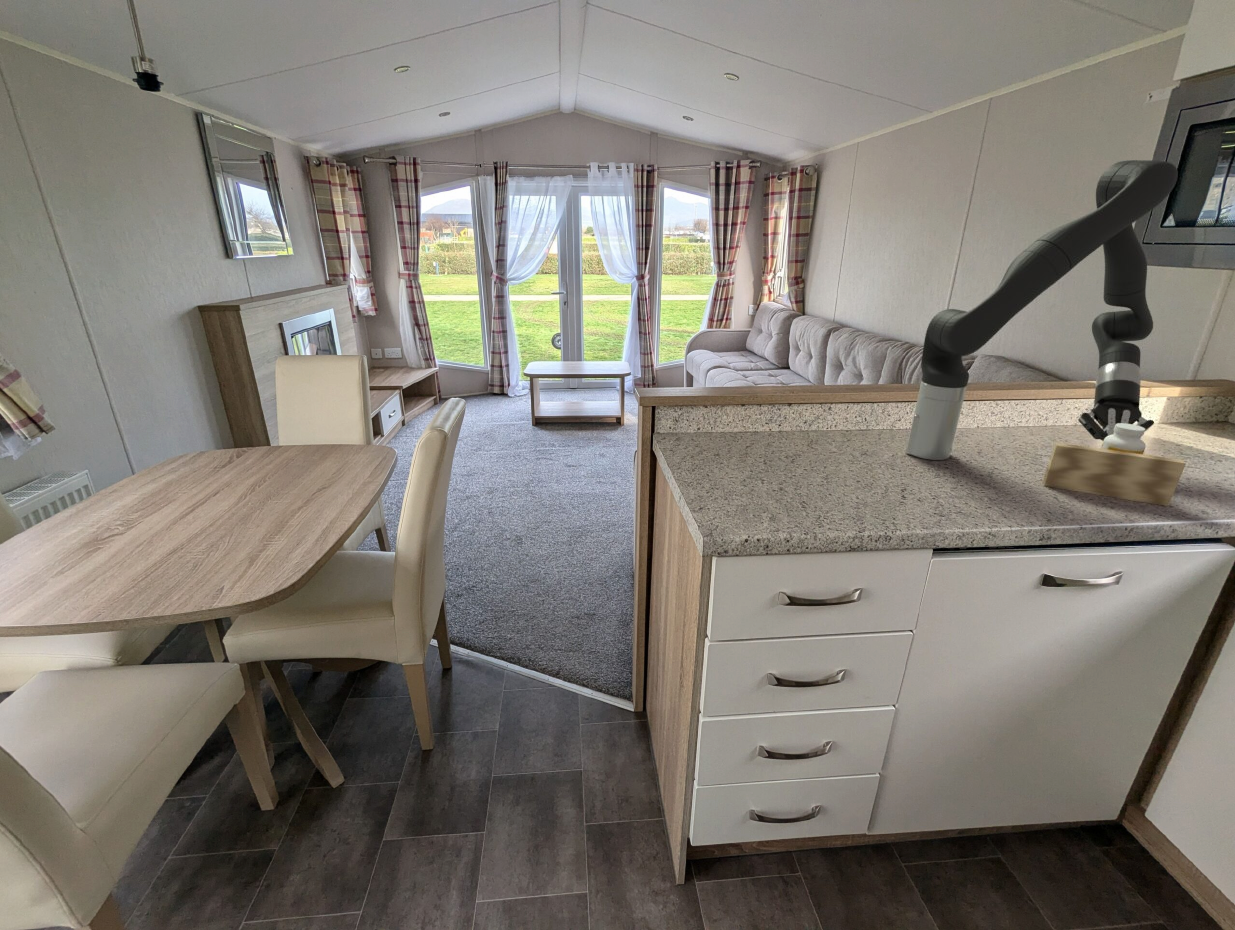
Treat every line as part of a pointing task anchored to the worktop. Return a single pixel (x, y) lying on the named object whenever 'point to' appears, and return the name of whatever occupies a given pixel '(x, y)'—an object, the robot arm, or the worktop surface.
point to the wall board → (1113, 473)
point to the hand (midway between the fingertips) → (1112, 457)
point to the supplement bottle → (1125, 439)
